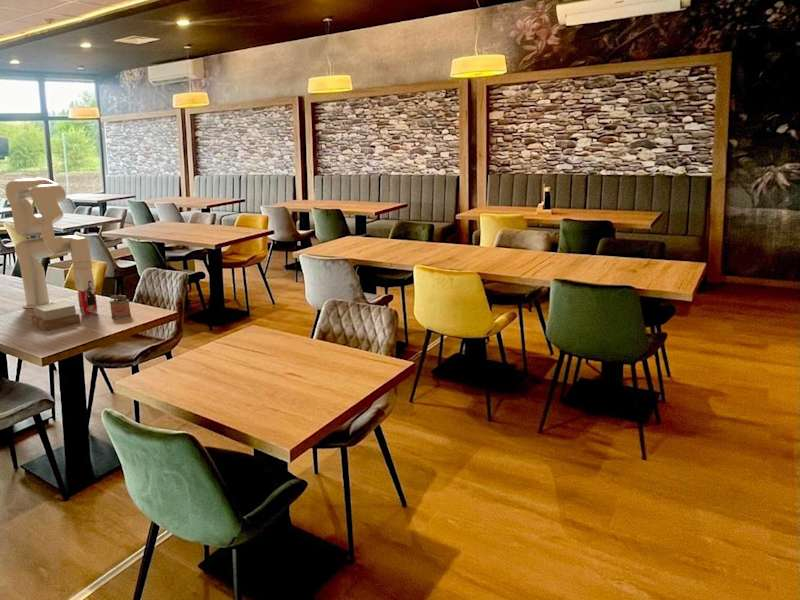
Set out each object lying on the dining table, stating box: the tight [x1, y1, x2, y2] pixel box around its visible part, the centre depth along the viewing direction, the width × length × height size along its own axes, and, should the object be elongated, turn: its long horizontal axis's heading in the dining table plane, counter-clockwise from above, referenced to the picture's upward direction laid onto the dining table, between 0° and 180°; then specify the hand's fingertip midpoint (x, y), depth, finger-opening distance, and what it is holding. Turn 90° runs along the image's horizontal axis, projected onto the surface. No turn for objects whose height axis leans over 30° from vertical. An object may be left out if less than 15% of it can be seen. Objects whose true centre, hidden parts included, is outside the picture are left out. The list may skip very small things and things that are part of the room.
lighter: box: [109, 294, 132, 319], centre depth 280 cm, size 8×3×10 cm, turn 104°
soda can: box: [77, 289, 98, 317], centre depth 285 cm, size 7×7×12 cm
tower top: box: [32, 301, 76, 321], centre depth 270 cm, size 12×12×4 cm
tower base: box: [31, 313, 81, 332], centre depth 271 cm, size 14×14×4 cm
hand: (88, 303), depth 285 cm, fingers closed on soda can, 7 cm apart
